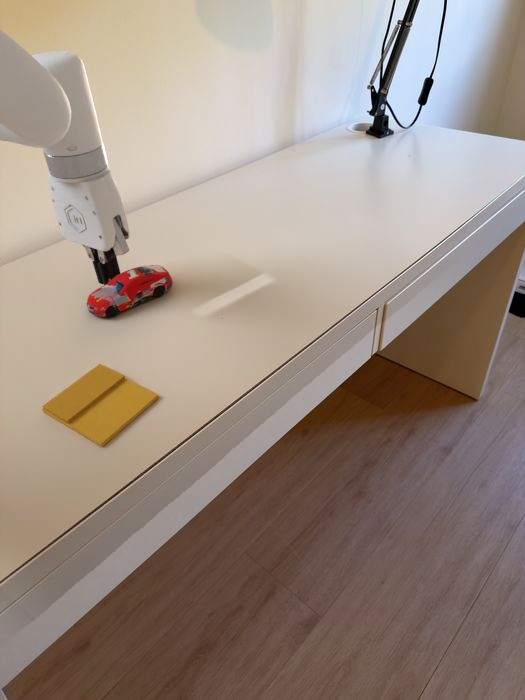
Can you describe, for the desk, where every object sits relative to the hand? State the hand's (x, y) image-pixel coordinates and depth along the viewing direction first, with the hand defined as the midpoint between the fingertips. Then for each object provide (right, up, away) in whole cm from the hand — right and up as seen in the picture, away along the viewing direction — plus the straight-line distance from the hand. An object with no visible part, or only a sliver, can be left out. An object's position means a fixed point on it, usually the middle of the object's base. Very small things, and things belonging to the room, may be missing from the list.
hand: (110, 280), depth 80 cm
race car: (+4, -3, -1) cm, 5 cm away
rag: (+4, -17, -19) cm, 26 cm away
